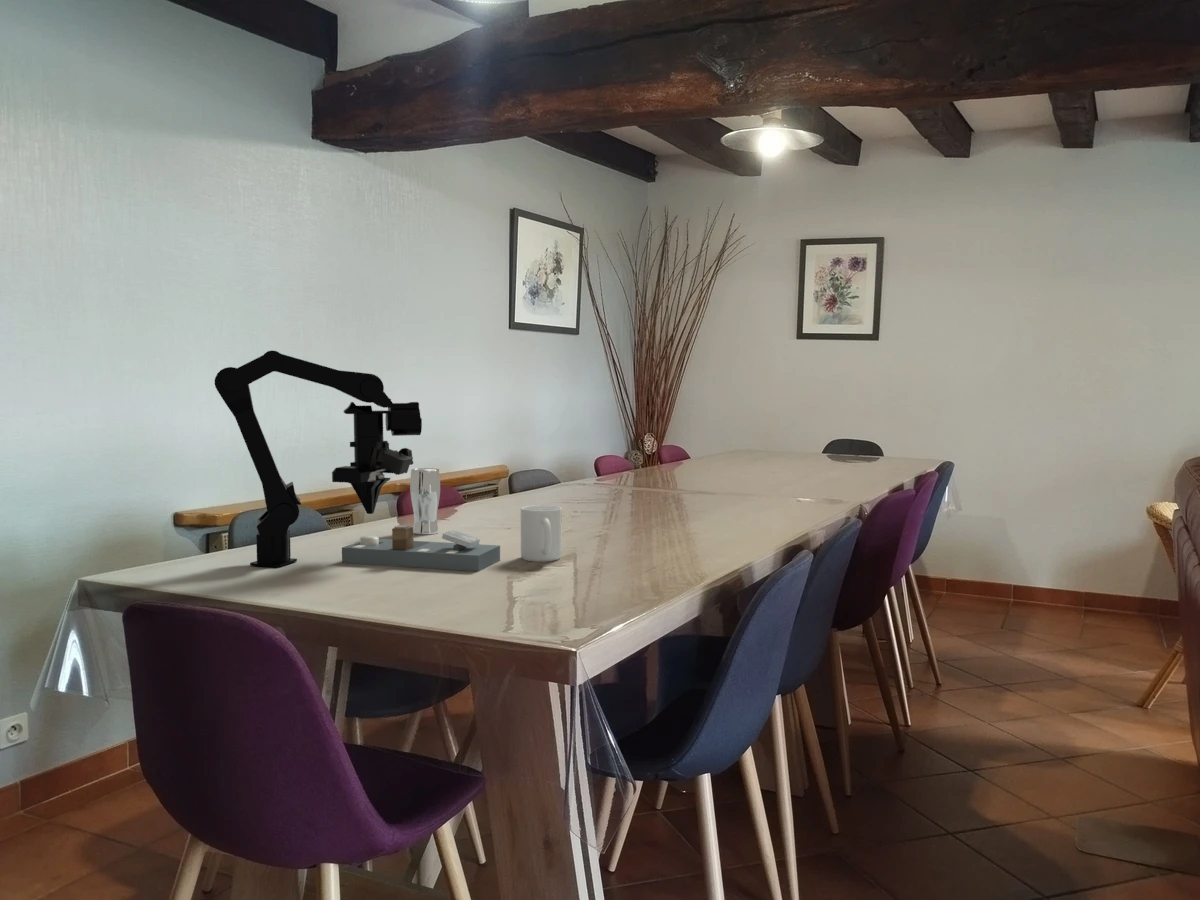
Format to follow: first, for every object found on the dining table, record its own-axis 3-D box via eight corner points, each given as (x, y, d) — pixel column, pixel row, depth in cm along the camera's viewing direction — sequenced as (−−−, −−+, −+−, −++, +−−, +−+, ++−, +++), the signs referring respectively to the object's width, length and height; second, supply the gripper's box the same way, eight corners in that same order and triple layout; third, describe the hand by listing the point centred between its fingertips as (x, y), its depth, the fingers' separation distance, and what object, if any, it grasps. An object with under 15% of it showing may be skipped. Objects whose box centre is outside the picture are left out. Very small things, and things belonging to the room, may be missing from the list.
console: (478, 571, 174) (478, 549, 173) (342, 562, 181) (341, 542, 181) (500, 560, 184) (500, 540, 184) (370, 552, 192) (369, 533, 192)
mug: (568, 565, 180) (568, 512, 180) (526, 566, 178) (526, 514, 178) (557, 553, 192) (557, 504, 191) (518, 555, 190) (517, 505, 189)
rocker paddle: (469, 547, 177) (470, 543, 177) (441, 538, 179) (442, 533, 179) (478, 543, 182) (479, 539, 182) (451, 534, 183) (452, 529, 183)
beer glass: (437, 535, 213) (436, 471, 212) (407, 535, 214) (406, 470, 212) (443, 530, 220) (442, 468, 219) (414, 530, 221) (413, 468, 219)
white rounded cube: (373, 558, 184) (373, 539, 183) (357, 557, 185) (356, 538, 184) (382, 554, 187) (381, 536, 187) (366, 553, 188) (366, 535, 188)
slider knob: (406, 549, 179) (406, 527, 178) (392, 548, 179) (392, 526, 179) (413, 547, 181) (413, 525, 181) (399, 546, 182) (399, 524, 182)
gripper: (382, 440, 173) (383, 522, 174) (426, 434, 191) (427, 508, 192) (329, 439, 176) (331, 519, 177) (378, 433, 194) (379, 506, 195)
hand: (370, 513), depth 185 cm, fingers closed
